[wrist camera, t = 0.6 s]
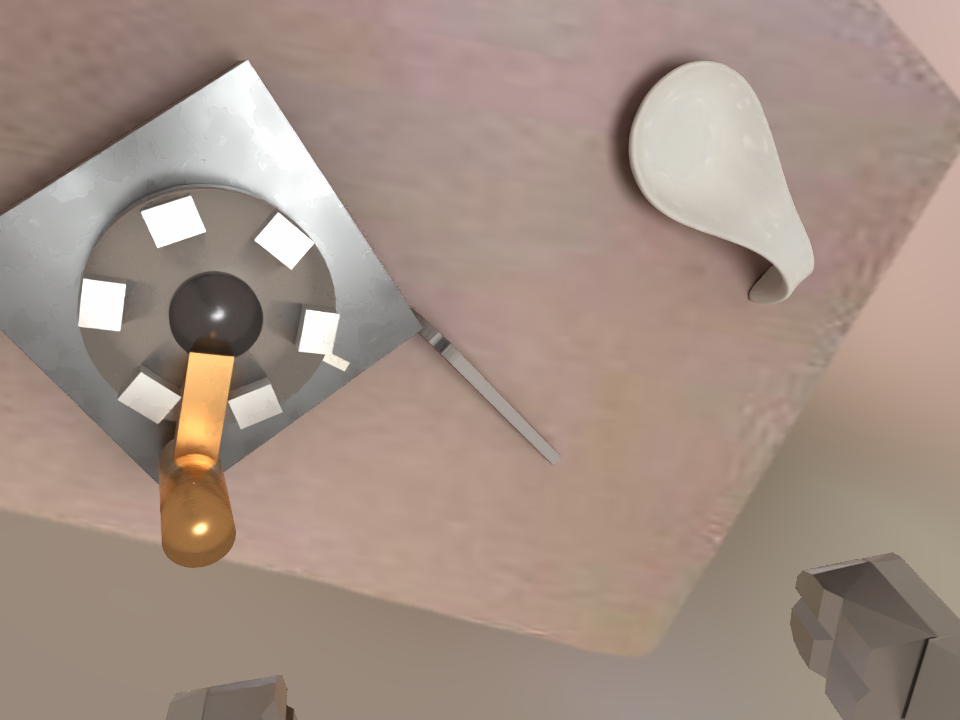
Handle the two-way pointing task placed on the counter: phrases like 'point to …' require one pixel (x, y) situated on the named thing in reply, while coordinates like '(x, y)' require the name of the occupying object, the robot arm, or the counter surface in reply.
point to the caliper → (484, 388)
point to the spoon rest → (720, 169)
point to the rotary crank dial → (204, 335)
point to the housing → (168, 163)
